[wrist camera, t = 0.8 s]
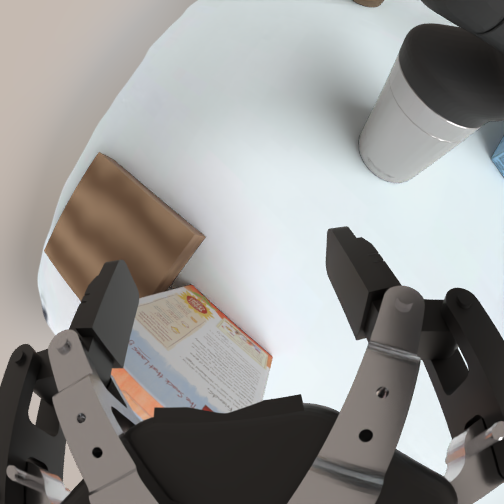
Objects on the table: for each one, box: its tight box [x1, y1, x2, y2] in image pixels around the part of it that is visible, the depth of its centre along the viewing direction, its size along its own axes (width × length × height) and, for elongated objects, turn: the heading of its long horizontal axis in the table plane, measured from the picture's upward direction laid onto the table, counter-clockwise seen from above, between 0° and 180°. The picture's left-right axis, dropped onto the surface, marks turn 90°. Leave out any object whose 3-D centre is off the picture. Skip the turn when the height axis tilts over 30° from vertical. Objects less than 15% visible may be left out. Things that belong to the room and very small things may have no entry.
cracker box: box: [111, 285, 272, 421], centre depth 24 cm, size 14×6×21 cm, turn 48°
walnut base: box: [44, 152, 205, 301], centre depth 35 cm, size 18×20×4 cm
